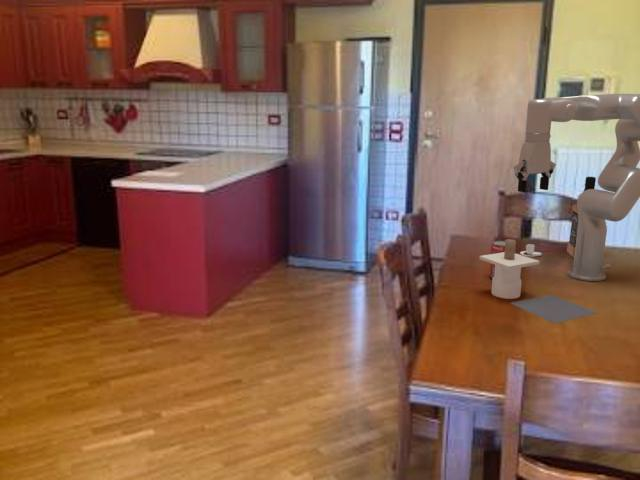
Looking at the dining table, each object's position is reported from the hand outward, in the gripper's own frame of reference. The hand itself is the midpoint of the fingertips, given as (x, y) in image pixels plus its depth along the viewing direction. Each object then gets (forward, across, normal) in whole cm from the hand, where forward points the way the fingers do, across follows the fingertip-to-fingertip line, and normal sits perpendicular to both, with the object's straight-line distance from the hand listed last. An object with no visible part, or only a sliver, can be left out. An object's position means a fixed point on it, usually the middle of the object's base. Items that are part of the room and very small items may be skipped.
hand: (532, 190), depth 196 cm
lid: (+21, +14, +6) cm, 26 cm away
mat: (+33, +10, +22) cm, 41 cm away
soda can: (+33, +2, -10) cm, 35 cm away
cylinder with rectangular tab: (+33, +14, +6) cm, 36 cm away
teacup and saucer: (+34, -29, -28) cm, 53 cm away
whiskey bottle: (+34, -50, -19) cm, 63 cm away
